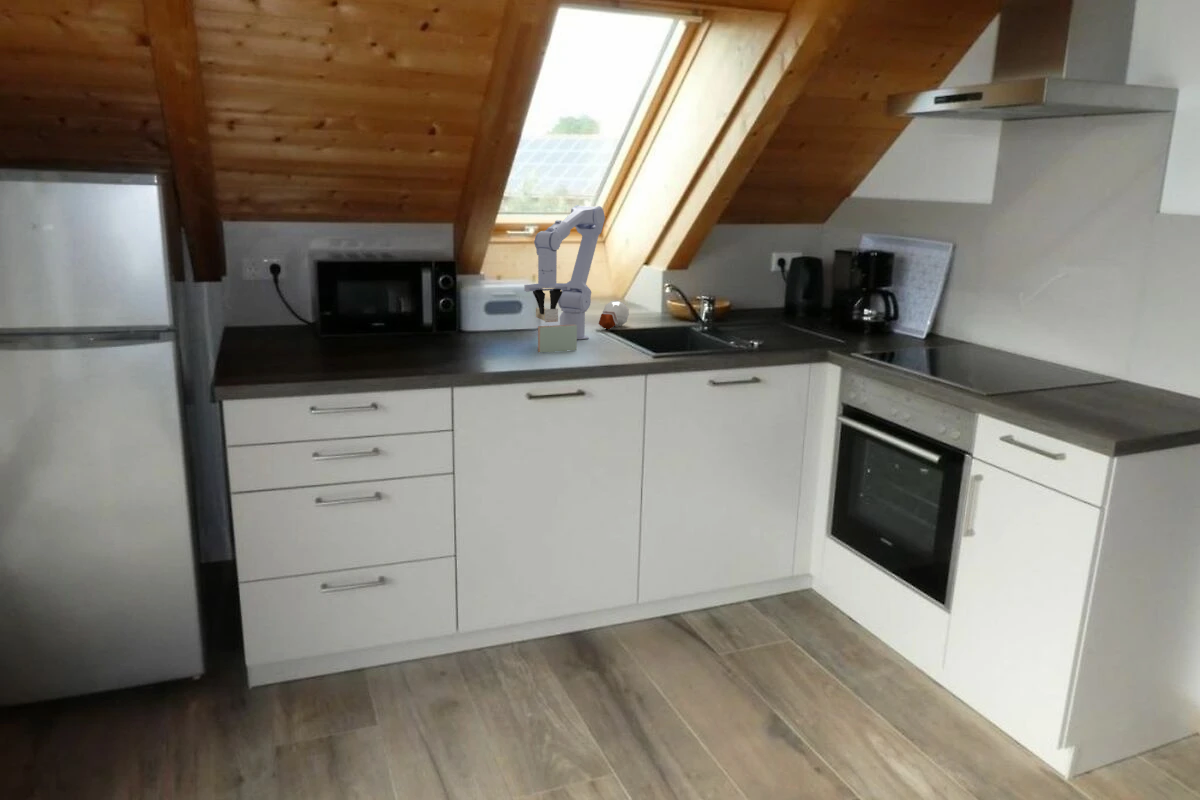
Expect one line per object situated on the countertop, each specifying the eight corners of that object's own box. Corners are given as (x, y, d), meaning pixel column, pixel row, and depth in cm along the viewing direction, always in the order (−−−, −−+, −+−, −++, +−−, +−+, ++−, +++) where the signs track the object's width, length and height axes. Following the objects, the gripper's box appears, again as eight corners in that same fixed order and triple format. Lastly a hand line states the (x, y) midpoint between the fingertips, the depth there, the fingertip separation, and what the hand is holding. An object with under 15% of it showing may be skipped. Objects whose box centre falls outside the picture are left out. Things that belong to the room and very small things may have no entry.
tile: (538, 352, 270) (538, 326, 268) (574, 349, 275) (574, 324, 273) (540, 353, 269) (540, 327, 267) (576, 350, 273) (576, 325, 271)
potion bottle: (623, 327, 322) (610, 339, 309) (602, 311, 322) (589, 322, 309) (637, 309, 318) (625, 320, 304) (616, 292, 318) (603, 302, 305)
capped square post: (534, 317, 283) (534, 304, 282) (546, 316, 284) (546, 304, 283) (545, 322, 273) (545, 309, 272) (558, 321, 275) (558, 308, 274)
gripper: (529, 272, 268) (529, 316, 271) (573, 271, 273) (573, 314, 277) (522, 269, 274) (522, 313, 277) (565, 268, 279) (565, 310, 283)
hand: (547, 313), depth 277 cm, fingers closed on capped square post, 3 cm apart
